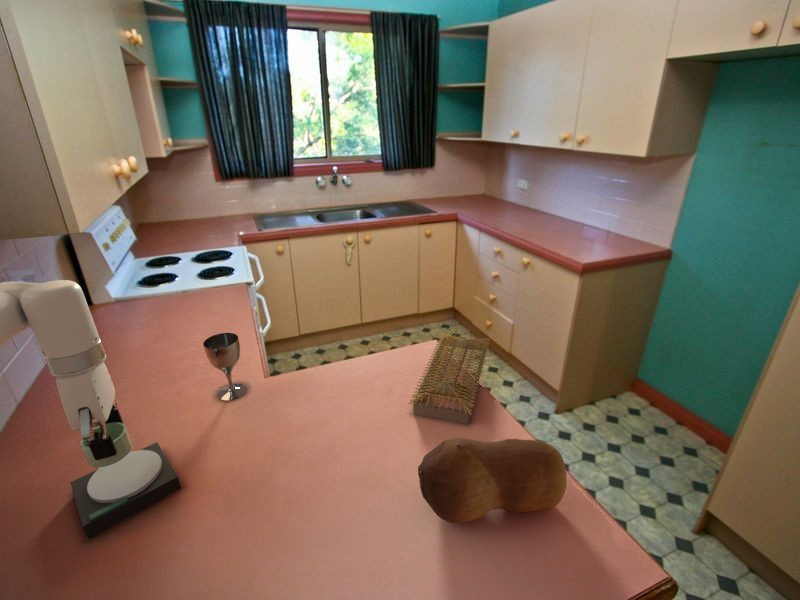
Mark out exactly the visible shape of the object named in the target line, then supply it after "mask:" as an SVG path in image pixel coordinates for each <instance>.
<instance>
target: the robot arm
mask: <svg viewBox="0 0 800 600" xmlns="http://www.w3.org/2000/svg"><path fill="white" fill-rule="evenodd" d="M29 328H31V331H32V333H33V335H34V338H35V341H36V342H37V344H38V347H39V349H40V352H41V354H42V356H43V358H44V361H45V363H46V365H47V367H48V370H49V372H50V375H51V376H53V377H55V382H56V387H57V391H58V395H59V399H60V402H61V405H62V407H63V410H64V413H65V416H66V419H67V422H68V424H69V426H70V429H71V430H72V431H73V432H77V431H80V438H81V439H83V440H85V441H86V443H87V444H88V445H89V447H90V450H91V452H92V454H93V457H94V459H95V460H100V459H104V458H108V457H111V456H115V455H116V454H117V450H116V448H115V445H114V442H113V440H112V437H111V435H108V434H107V429H106V424H107V423H112V422H120V423H123V424H124V425H125V423H124V420H123V418H122V415H121V412H120V409H119V408H118V404H117V402H116V400H115V398H116V389H115V386H114V382H113V380H112V378H111V374H110V372H109V370H108V368H107V365H106V363H105V361H106V359H107V354H106V351H105V349H104V346H103V344H102V340H101V338H100V335H99V332H98V330H97V327H96V324H95V321H94V318H93V315H92V313H91V310H90V307H89V305H88V302H87V300H86V296H85V293H84V292H83V289H82V287H81V286H80V285H79V284H78V283H77V282H75V281H73V280H70V279H58V280H50V281H46V282H28V281H26V282H25V281H2V282H0V348H1V347H2V346H4V345H5V344H6V343H7V342H9V341H10V340H12V339H13V338H14V337H15V336H17V335H18V334H20V333H22V332H24V331H25V330H27V329H29ZM93 420H96V421H93ZM98 426H100V430H101V433H100V432H94V431H93V429H94V428H96V427H98Z"/></svg>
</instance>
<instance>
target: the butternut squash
mask: <svg viewBox="0 0 800 600" xmlns="http://www.w3.org/2000/svg"><path fill="white" fill-rule="evenodd" d="M417 475H418V478H419V479H418V481H419V488H420V492H421V495H422V498H423V499H424V500H425V502H426V503H427V504H428V505H429V507H430V508H431V510H432V511H433V512H434V513H435V514H436V515H437V517H438V518H440V519H441V520H443V521H446V522H448V523H451V524H454V523H455V524H462V523H467V522H471V521H474V520H476V519H479V518H480V517H482V516H485V515H486V514H487V513H489V512H491V511H494V510H504V511H510V512H516V513H523V512H525V513H528V512H536V511H544V510H552V509H554V508H555V507H557V506H559V504H560V503H561V501H562V499H563V497H564V495H565V492H566V489H567V478H568V476H567V469H566V464H565V461H564V458H563V456H562V454H561V452H560V451H559V450H558V449H557V447H556V446H554V445H552V444H550V443H548V442H546V441H542V440H535V439H519V438H506V439H502V440H498V441H480V440H476V439H470V438H466V437H465V438H464V437H460V436H459V437H452V438H448V439H445V440H443V441H442V442H441V443H439V444H438V445H437V446H435V447H434V448H433V449H432V450H430V451H429V452H427V453H426V454H424V456H423V458H422V460H421V463H420V464H419V465H418V467H417Z"/></svg>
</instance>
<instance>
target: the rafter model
mask: <svg viewBox="0 0 800 600" xmlns="http://www.w3.org/2000/svg"><path fill="white" fill-rule="evenodd" d="M461 336H462V335H459V336H457V334H454V335H451V333H450V334H448V333H444V332H441V334H440V336H439V339H438V340H437V343H436V344H435V345H436V346H434V348H433V351H432V353H431V355H430V359H429V361H427V364H426V366H425V369H424V370H423V371H424V372H422V375H421V376H420V377H421V378H419V380H420V381H419V382H417V383H418V384H416V387H415V388H414V389H415V391H413V393H414V394H412V396H411V398H412V399H409V402H408V405H410V404H412V406H413V407H412V409H413V410H412V411H413V413H412V414H413V415H415V416H416V415H417V416H422V417H427V418H428V417H429V418H432V419H438V420H444V421H449V422H455V423H461V424H466V425H468V424H469V420H470V417H471V416H472V413H473V408H474V407H475V404H474V403H476V401H475V400H477V398H476V397H477V393H478V391H477V390H479V386H480V385H479V384H480V380H481V378H480V377H482V375H481V374H483V372H482V371H484V370H483V368H484V366H485V362H486V361H485V360H486V358H487V354H488V350H489V346H490V342H491V338H486V337H485V338H482V337H480V338H477V336H475V337H474V338H472V336H469V337H467V335H464V337H461ZM444 360H445V361H444ZM477 382H478V383H477ZM441 394H442V395H441ZM445 395H446V396H445ZM425 399H427V401H426V402H427V403H424V402H423V400H425ZM430 400H433V404H431V403H429V402H430ZM436 401H440V403H439V405H436ZM443 402H447V404H446V406H442V404H443ZM449 403H453V407H448V406H449ZM456 404H458V405H460V408H459V409H458V408H455V407H456ZM462 408H463V409H462Z"/></svg>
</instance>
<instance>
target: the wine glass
mask: <svg viewBox="0 0 800 600" xmlns="http://www.w3.org/2000/svg"><path fill="white" fill-rule="evenodd" d="M202 345H203V346H202V347H203V350H204V353H205V356H206V358H207V360H208V362H209V363H210V365H211V366H212V367H214V368H215V369H217V370H219V371H221V372H222V373H224V375H225V377H226V379H227V382H228V385H225V386H224V387H222V388H221V389H220V390H219V391H218V392H217V398H218V399H219V400H221V401H226V402H227V401H233V400H237V399H239V398H241V397H243V396H244V395H246V393H247V391H248V387H247V386H246V385H245V384H243V383H233V379H232V371H233V369H234V367H235V366H236V364H237V363H238V362H239V360H240V356H241V345H240V338H239V335H237V334H236V333H233V332H221V333H217V334H214V335H211V336H209V337H207V338H206V339H205V340H204V341H203V344H202Z"/></svg>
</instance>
